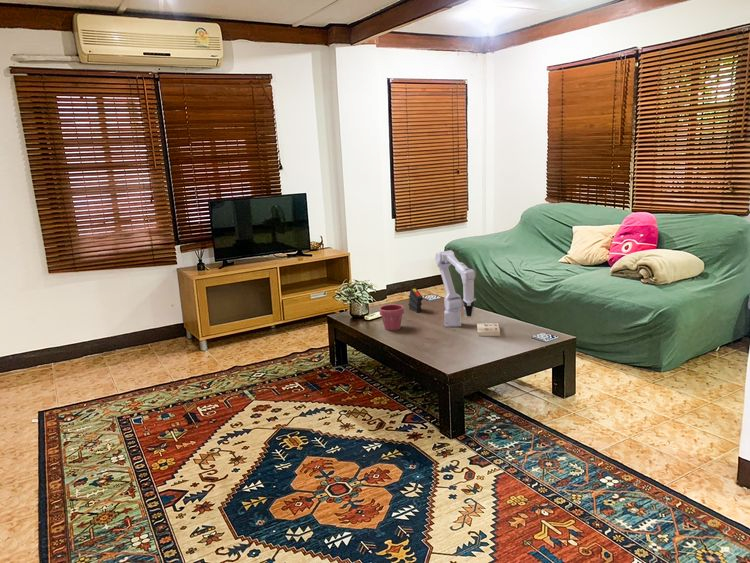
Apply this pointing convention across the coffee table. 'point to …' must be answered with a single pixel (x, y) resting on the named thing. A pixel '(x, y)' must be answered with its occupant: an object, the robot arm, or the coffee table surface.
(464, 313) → the plug
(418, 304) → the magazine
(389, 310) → the plant pot
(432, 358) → the coffee table surface
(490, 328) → the socket board
